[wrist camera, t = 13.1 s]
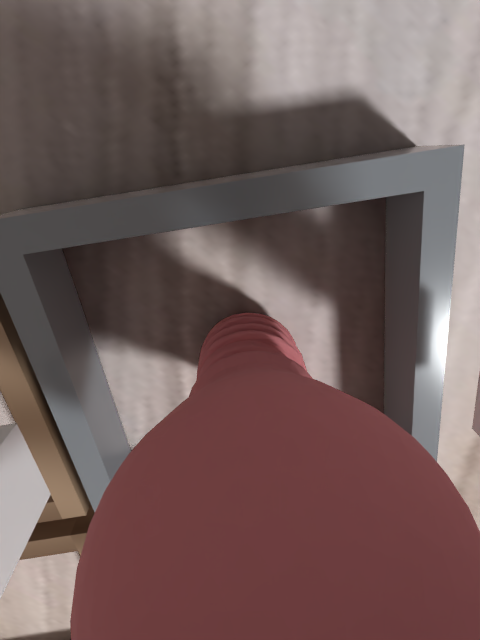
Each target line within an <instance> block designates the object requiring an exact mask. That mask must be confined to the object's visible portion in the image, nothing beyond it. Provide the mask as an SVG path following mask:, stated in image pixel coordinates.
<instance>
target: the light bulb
mask: <svg viewBox="0 0 480 640" xmlns="http://www.w3.org/2000/svg"><path fill="white" fill-rule="evenodd" d="M70 623H71V640H480V531H479V529H478V527H477V525H476V522H475V520H474V518H473V516H472V514H471V512H470V510H469V507H468V506H467V504H466V503H465V501H464V500H463V498H462V497H461V495H460V494H459V492H458V491H457V489H456V487H455V486H454V484H453V483H452V481H451V480H450V478H449V477H448V475H447V474H446V473H445V472H444V470H443V469H442V468H441V467H440V465H439V464H438V463H437V462H436V461H435V459H434V458H433V457H432V456H431V455H430V453H429V452H428V451H427V450H426V449H425V448H424V447H423V446H422V445H421V444H420V443H419V442H418V441H417V440H416V439H415V438H414V437H413V436H412V435H410V434H409V433H408V432H406V431H405V430H404V429H403V428H401V427H400V426H399V425H398V424H396V423H395V422H394V421H393V420H391V419H390V418H389V417H387V416H386V415H385V414H383V413H382V412H380V411H379V410H377V409H376V408H374V407H373V406H371V405H369V404H367V403H365V402H363V401H361V400H359V399H357V398H355V397H353V396H351V395H348V394H346V393H344V392H342V391H340V390H338V389H335V388H333V387H331V386H329V385H327V384H324V383H322V382H320V381H317V380H314V379H312V377H311V376H310V375H309V374H308V373H307V370H306V367H305V364H304V361H303V357H302V354H301V353H300V351H299V350H298V348H297V347H296V344H295V341H294V339H293V338H292V336H291V334H290V333H289V331H288V330H287V329H286V328H285V327H284V326H283V325H282V324H281V323H279V322H278V321H276V320H275V319H273V318H271V317H269V316H266V315H263V314H257V313H248V312H247V313H241V314H234V315H231V316H229V317H226V318H224V319H223V320H221V321H220V322H218V323H217V324H216V325H215V326H214V327H213V328H212V329H211V330H210V332H209V333H208V335H207V336H206V339H205V340H204V342H203V345H202V348H201V351H200V356H199V363H198V370H197V381H196V383H195V384H194V386H193V387H192V390H191V392H190V395H189V398H187V399H186V400H185V401H183V402H182V403H181V404H180V405H179V406H178V407H176V408H175V409H174V410H173V411H172V412H171V413H170V414H169V415H167V416H166V417H165V418H164V419H163V420H162V421H161V422H160V423H158V424H157V425H156V426H155V427H154V428H153V429H152V430H151V431H150V432H148V433H147V434H146V435H145V436H144V437H143V439H142V440H141V441H140V442H139V443H138V444H137V445H136V446H135V448H134V449H133V450H132V451H131V452H130V453H129V454H128V456H127V457H126V459H125V460H124V461H123V463H122V464H121V466H120V467H119V469H118V470H117V472H116V473H115V475H114V477H113V478H112V480H111V482H110V483H109V485H108V486H107V488H106V490H105V492H104V494H103V496H102V498H101V500H100V502H99V505H98V507H97V509H96V511H95V513H94V516H93V518H92V520H91V522H90V525H89V528H88V532H87V535H86V539H85V542H84V546H83V549H82V553H81V556H80V560H79V563H78V567H77V572H76V580H75V588H74V596H73V604H72V613H71V621H70Z"/></svg>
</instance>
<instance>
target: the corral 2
mask: <svg viewBox="0 0 480 640" xmlns="http://www.w3.org/2000/svg"><path fill="white" fill-rule="evenodd" d="M94 513H95V512H94V510H93V508H92V505H91V504H90V506H89V509H88V512H87V515H86V516H79V517H73V518H66V519H60V520H53V521H47V522H41V523H37V524H36V526H35V528H34V530H33V532H32V534H31V536H30V538H29V540H28V542H27V545H26V547H25V549H24V551H23V553H22V555H21V557H20V559H19V560H22V559H29V558H35V557H42V556H48V555H55V554H61V553H68V552H74V551H78V552H79V555H80V556H81V553H82V549H83V546H84V542H85V539H86V535H87V532H88V528H89V525H90V522H91V520H92V518H93V516H94Z"/></svg>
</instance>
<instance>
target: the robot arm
mask: <svg viewBox="0 0 480 640" xmlns="http://www.w3.org/2000/svg"><path fill="white" fill-rule="evenodd" d="M472 429H473V430H474V431H475V432H476V433H477V434H478V435H479V436H480V373H479V380H478V388H477V395H476V403H475V411H474V418H473V426H472ZM50 495H51V493H50V491H49V489H48V487H47V485H46V483H45V481H44V479H43V477H42V475H41V473H40V471H39V468H38V466H37V464H36V462H35V460H34V458H33V456H32V454H31V452H30V450H29V448H28V446H27V444H26V441H25V439H24V437H23V435H22V433H21V431H20V429H19V427H18V425H17V423H15V424H8V425H2V426H0V599H1V596H2V594H3V592H4V590H5V588H6V586H7V584H8V582H9V580H10V578H11V576H12V574H13V572H14V569H15V567H16V565H17V563H18V561H19V559H20V557H21V555H22V553H23V551H24V549H25V547H26V545H27V542H28V540H29V538H30V536H31V534H32V532H33V530H34V528H35V526H36V524H37V522H38V520H39V518H40V515H41V513H42V511H43V509H44V507H45V505H46V503H47V501H48V499H49V497H50Z"/></svg>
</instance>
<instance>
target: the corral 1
mask: <svg viewBox="0 0 480 640" xmlns="http://www.w3.org/2000/svg"><path fill="white" fill-rule="evenodd" d="M0 391H1V393H2V395H3V397H4V399H5V401H6V403H7V405H8V407H9V409H10V411H11V414H12V416H13V418H14V420H15V422H16V423H17V425H18V427H19V429H20V431H21V433H22V435H23V437H24V439H25V441H26V444H27V446H28V448H29V450H30V452H31V454H32V456H33V458H34V460H35V462H36V464H37V466H38V468H39V471H40V473H41V475H42V477H43V479H44V481H45V483H46V485H47V487H48V489H49V491H50V493H51V495H50V497H49V499H48V501H47V503H46V505H45V507H44V509H43V511H42V513H41V515H40V518H39V520H38V522H37V523H41V522H47V521H53V520H60V519H66V518H73V517H79V516H86V515H87V512H88V509H89V506H90V504H91V503H90V501H89V498H88V496H87V494H86V491H85V489H84V487H83V484H82V482H81V480H80V477H79V475H78V473H77V470H76V468H75V466H74V463H73V461H72V459H71V456H70V454H69V452H68V449H67V447H66V445H65V442H64V440H63V438H62V435H61V433H60V431H59V428H58V426H57V424H56V421H55V419H54V417H53V414H52V412H51V410H50V407H49V405H48V403H47V400H46V398H45V396H44V393H43V391H42V389H41V386H40V384H39V382H38V379H37V377H36V375H35V372H34V370H33V368H32V365H31V363H30V361H29V358H28V356H27V354H26V351H25V349H24V347H23V344H22V342H21V340H20V337H19V335H18V333H17V330H16V328H15V326H14V323H13V321H12V319H11V316H10V314H9V312H8V309H7V307H6V305H5V302H4V300H3V298H2V295H1V293H0Z"/></svg>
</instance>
